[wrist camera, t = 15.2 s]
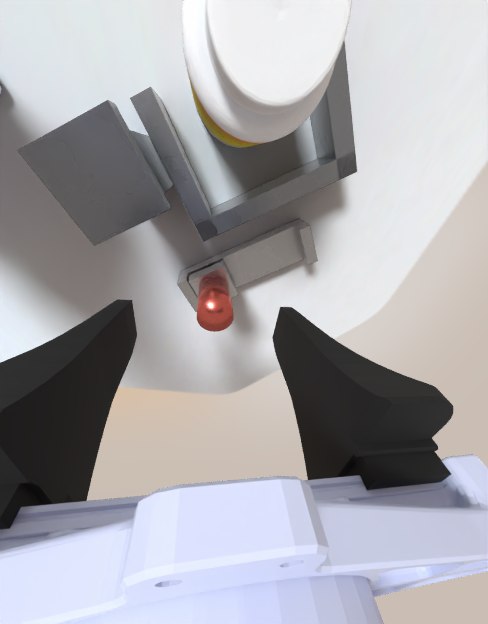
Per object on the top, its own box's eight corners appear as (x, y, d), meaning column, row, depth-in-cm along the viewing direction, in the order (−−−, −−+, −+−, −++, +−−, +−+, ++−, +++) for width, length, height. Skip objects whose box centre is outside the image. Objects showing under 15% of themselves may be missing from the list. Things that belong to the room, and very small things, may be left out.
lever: (205, 301, 21) (204, 339, 17) (189, 275, 19) (184, 309, 15) (236, 288, 20) (244, 323, 16) (222, 260, 19) (227, 291, 15)
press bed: (160, 250, 19) (136, 298, 13) (88, 137, 15) (-3, 125, 8) (336, 169, 18) (409, 178, 11) (314, 15, 13) (415, -116, 7)
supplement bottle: (265, 159, 17) (325, 164, 8) (186, 131, 15) (160, 104, 7) (295, 51, 14) (431, -107, 6) (202, 4, 13) (191, -303, 4)
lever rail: (196, 298, 22) (195, 312, 20) (180, 271, 21) (177, 283, 19) (307, 250, 21) (317, 260, 19) (299, 218, 19) (309, 225, 17)
